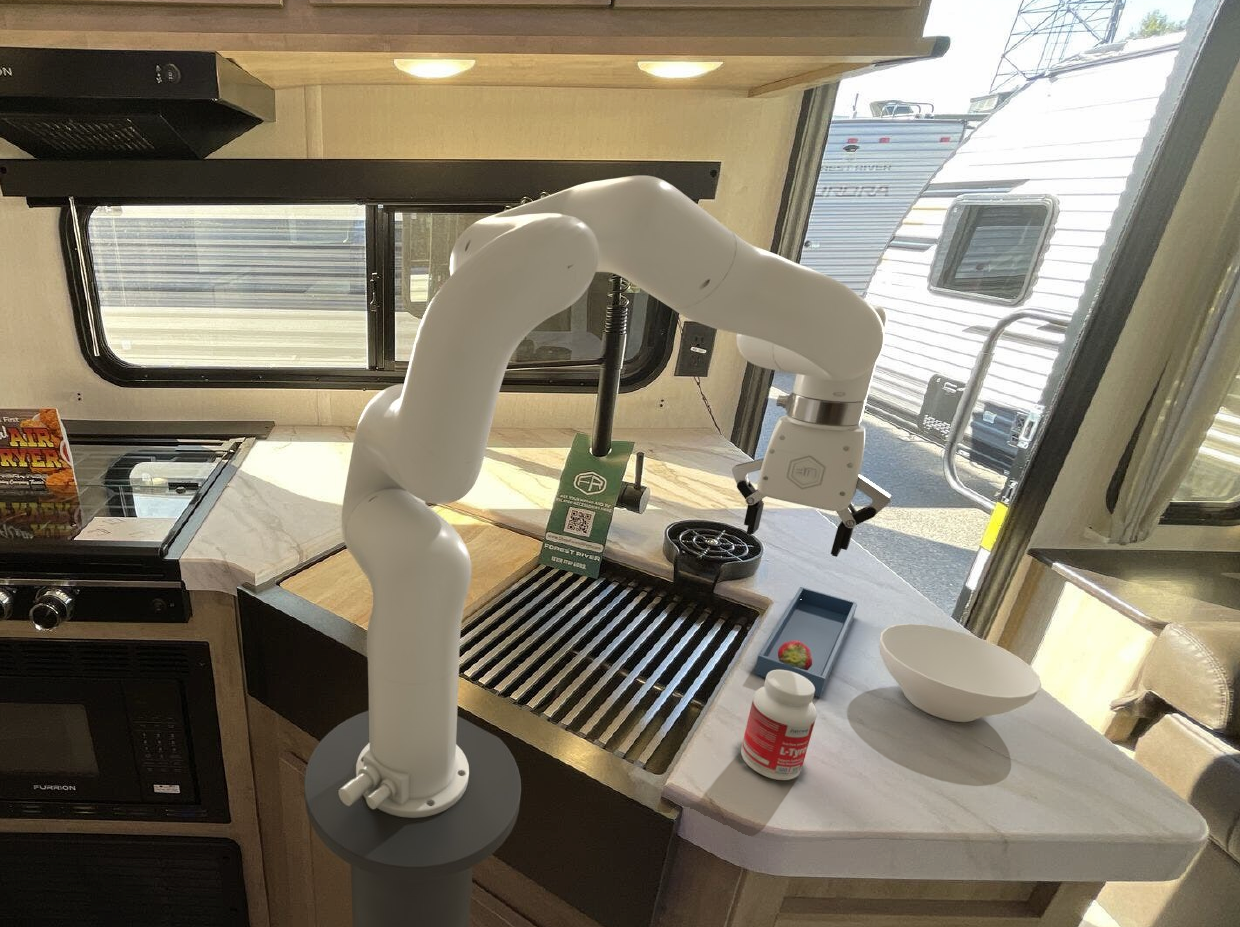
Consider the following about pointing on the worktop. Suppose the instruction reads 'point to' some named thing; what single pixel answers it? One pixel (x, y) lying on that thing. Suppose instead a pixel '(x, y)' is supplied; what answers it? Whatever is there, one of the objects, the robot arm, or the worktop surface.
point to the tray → (810, 635)
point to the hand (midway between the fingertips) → (792, 541)
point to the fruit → (795, 654)
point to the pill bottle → (780, 725)
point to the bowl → (956, 672)
